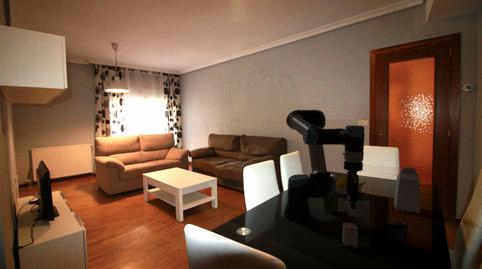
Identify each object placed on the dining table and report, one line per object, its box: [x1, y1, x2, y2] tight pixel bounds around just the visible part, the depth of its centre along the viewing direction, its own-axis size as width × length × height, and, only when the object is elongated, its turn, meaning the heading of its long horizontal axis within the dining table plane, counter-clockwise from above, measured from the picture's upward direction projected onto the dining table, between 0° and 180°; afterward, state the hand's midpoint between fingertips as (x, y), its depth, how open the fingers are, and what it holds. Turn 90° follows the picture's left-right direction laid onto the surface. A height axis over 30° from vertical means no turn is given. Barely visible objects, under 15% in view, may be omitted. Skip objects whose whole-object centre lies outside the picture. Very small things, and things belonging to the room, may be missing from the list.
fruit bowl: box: [335, 175, 366, 196], centre depth 176 cm, size 28×27×11 cm
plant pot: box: [321, 191, 341, 213], centre depth 142 cm, size 12×12×11 cm
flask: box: [386, 218, 409, 245], centre depth 107 cm, size 9×3×11 cm, turn 95°
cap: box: [341, 222, 359, 246], centre depth 104 cm, size 5×5×8 cm
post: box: [341, 239, 360, 250], centre depth 105 cm, size 6×6×8 cm
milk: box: [393, 166, 421, 214], centre depth 145 cm, size 12×12×26 cm
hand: (351, 212), depth 104 cm, fingers open, 6 cm apart
